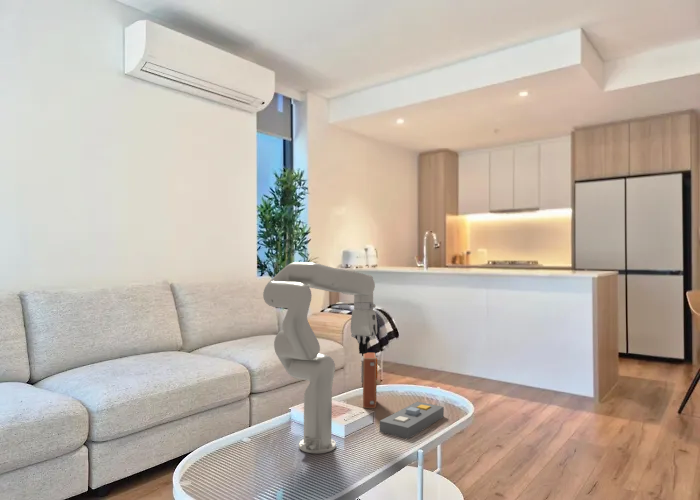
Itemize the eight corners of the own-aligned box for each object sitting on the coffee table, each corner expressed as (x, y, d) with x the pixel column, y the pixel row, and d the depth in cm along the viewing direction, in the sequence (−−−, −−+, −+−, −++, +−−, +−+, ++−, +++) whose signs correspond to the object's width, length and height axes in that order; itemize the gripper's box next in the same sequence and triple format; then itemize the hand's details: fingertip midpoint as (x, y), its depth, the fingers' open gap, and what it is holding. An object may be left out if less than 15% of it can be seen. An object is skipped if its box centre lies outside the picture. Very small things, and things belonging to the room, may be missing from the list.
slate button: (415, 419, 186) (415, 411, 186) (406, 417, 188) (406, 409, 188) (420, 416, 189) (420, 408, 189) (410, 414, 191) (411, 406, 191)
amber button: (425, 416, 193) (425, 408, 193) (416, 414, 195) (416, 406, 195) (430, 413, 196) (430, 406, 196) (421, 411, 198) (421, 404, 198)
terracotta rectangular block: (376, 399, 221) (377, 409, 206) (360, 398, 221) (361, 409, 206) (376, 352, 221) (377, 358, 206) (361, 351, 221) (361, 358, 206)
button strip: (408, 439, 173) (408, 427, 173) (379, 431, 180) (379, 420, 180) (443, 416, 197) (443, 406, 197) (417, 411, 204) (417, 401, 204)
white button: (403, 429, 178) (403, 421, 178) (394, 426, 181) (394, 418, 181) (408, 426, 181) (409, 418, 181) (399, 423, 184) (399, 415, 184)
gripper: (384, 307, 189) (384, 354, 188) (353, 304, 197) (353, 349, 197) (374, 308, 182) (374, 357, 182) (342, 305, 191) (342, 352, 191)
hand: (363, 353), depth 190 cm, fingers closed
